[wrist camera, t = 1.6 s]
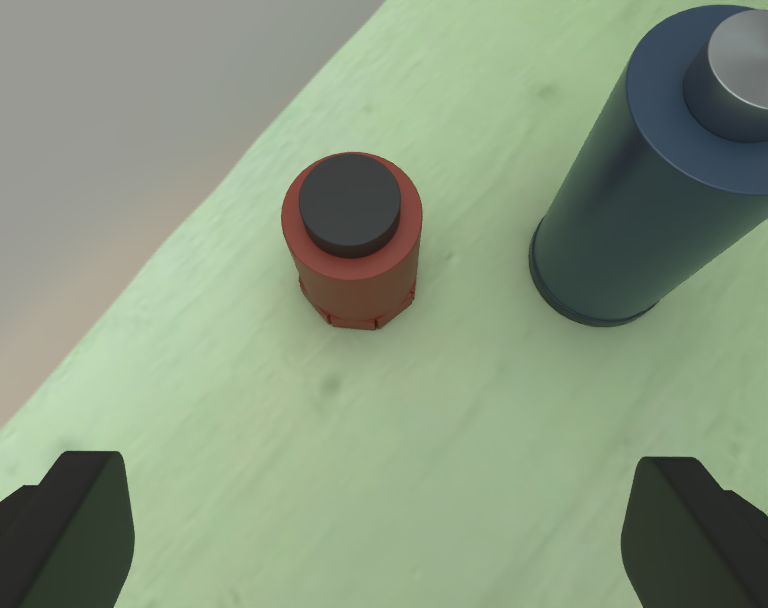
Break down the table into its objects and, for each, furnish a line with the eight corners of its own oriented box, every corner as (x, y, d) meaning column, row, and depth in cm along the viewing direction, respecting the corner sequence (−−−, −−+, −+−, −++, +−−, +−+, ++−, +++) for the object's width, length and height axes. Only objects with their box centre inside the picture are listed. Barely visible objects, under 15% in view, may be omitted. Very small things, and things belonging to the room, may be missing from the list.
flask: (596, 176, 38) (756, -78, 21) (694, 270, 36) (952, 72, 19) (500, 253, 36) (591, 44, 20) (596, 355, 34) (786, 219, 18)
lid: (368, 203, 37) (361, 108, 28) (439, 282, 36) (455, 207, 27) (282, 267, 36) (245, 189, 27) (350, 351, 35) (336, 298, 25)
